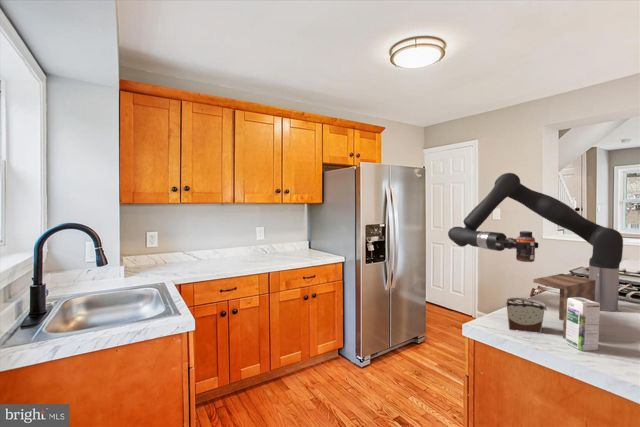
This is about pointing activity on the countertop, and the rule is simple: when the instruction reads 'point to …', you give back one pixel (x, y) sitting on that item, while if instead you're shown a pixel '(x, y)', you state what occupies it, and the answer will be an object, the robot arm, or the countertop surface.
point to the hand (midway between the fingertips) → (532, 246)
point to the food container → (525, 314)
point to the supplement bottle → (529, 253)
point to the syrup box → (582, 323)
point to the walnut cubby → (569, 291)
